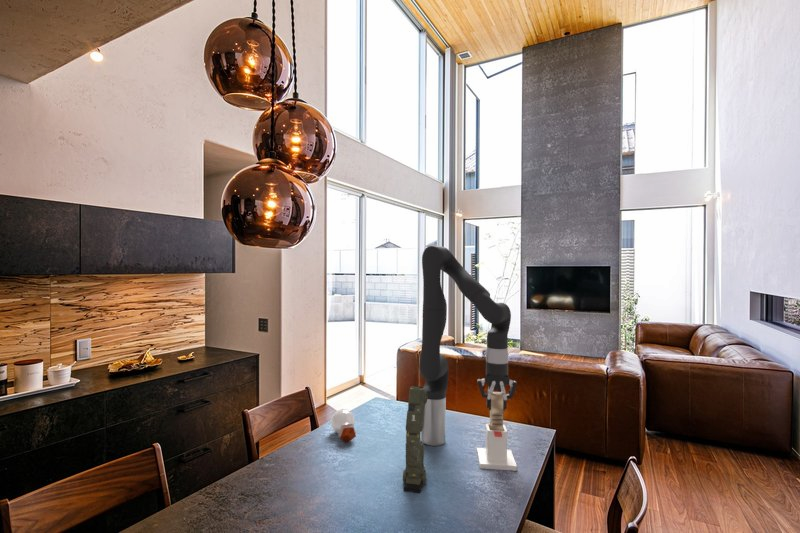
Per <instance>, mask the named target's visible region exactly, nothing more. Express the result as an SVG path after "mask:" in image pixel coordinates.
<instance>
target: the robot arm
mask: <svg viewBox="0 0 800 533" xmlns="http://www.w3.org/2000/svg"><path fill="white" fill-rule="evenodd" d="M421 267H422V278H423V279H422V281H423V288H422V293H423V294H422V297H423V301H422V328H421V329H422V330H421V331H422V332H421V338H422V339H421V349H420V350H421V351H420V357H419V364H418V365H419V368H418V369H419V373H420V375H421V377H422V378H423V379H424V380H425V382H424V385H423V386H422V388H425V389H426V390H427V403H426V404H425V414H424V426H423V430H422V432H421V434H420V442H421V441H422V443H423V444H425V445H428V446H432V447H433V446H434V447H436V446H437V447H438V446H441V445H444V444H445V443H446V417H447V416H446V413H447V412H446V411H447V410H446V409H447V407H446V406H447V404H446V402H447V391H448V386H449V363H448V360H447V358H446V356H445V355H443V354H442V353H441V341H442V338H443V335H444V332H445V328H446V325H447V318H448V317H447V315H448V314H447V313H448V312H447V310H448V309H447V308H448V307H447V306H448V304H447V300H446V297H445V294H444V291H443V289H442V288H443V287H442V284H441V273H442V272H444V273H446V274H447V275H448V276H449V277H450V278H451V279H452V280H453V281H454V283H455V284H456V285H457V286H456V287H457V288H458V290H459V291H460V292H461V293H462V295H463V296H464V297H465V298H466V299H467V300H469V302H471V304H472V305H474V306H475V308H476V309H477V311H478V312H479V314H480V315H481V316H482V317H483V319H485V321H487V322H488V323H489V324H491V326H490V329H489V331H488V332H487V335H486V352H485V376H484V378H481V379H480V378H478V379H477V380H476V381H477V386H478V388H479V391H480V394H481V396H482V398H485V399H486V407H487V409H488V411H490V410H491V394H492V393H493V392H494V391H499V392H501V393H502V395H503V412H505V411H506V410H507V406H508V405H507V404H508V403H507V402H508V400H510V399H511V400H512V399H513V397H514V395H515V391H516V389H517V386H518V383H517V381H516V380H512V379H510V377H509V350H508V349H509V348H508V344H509V343H508V340H509V338H508V334H509V331H510V325H511V319H512V312H511V308H510V306H508V305H507V304H506V303H504V302H495V301H494V300H493V299H492V297H491V293H490V292H489V291H488V289H486V288H485V287H484V286H483V285H482V284H481V283H480V282H478V281H477V280H476V279H475V278H474V277H473V276H472V275H471V274H470V273H469V272H468V271H467V270H466V269H465V268H464V266H463V265H462V264H461V263H460V262H459V261H458V260H457V258H456V257H455V255H454V254H453V253H452V252H451V251H450V250H449V248H447V247H445V246H442V245H428V246H426V248H424V250H423V252H422V255H421ZM441 271H442V272H441ZM485 383H486V384H487V386H488V387H487V391H486V392H487V393H486V392H485V391H484V390H485V389H484V386H485ZM508 385H509V390H508V392H507V391H506V387H507V386H508ZM506 392H507V393H506Z"/></svg>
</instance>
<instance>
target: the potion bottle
mask: <svg viewBox="0 0 800 533" xmlns="http://www.w3.org/2000/svg"><path fill="white" fill-rule="evenodd" d="M355 420H356V419H355V416H354V413H353V412H351V411H350V410H349V409H346V408H345V409H344V408H340V409H338V410H336V411H335V412H334V414H333V415H331V419H330V424H331V428H332V430H333V431H334V433H336V434H337V436H338V437H339V439H340V440H341V441H343V442H345V443H347V444H348V443H350V442H351V441H352V440H354V439H355V438H356V435H357V432H356V429H355Z"/></svg>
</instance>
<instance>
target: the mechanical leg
mask: <svg viewBox="0 0 800 533" xmlns="http://www.w3.org/2000/svg"><path fill="white" fill-rule="evenodd" d="M408 393H409V394H408V403H407V404H408V405H407V412H406V422H405V432H406V433H405V469H404V470H403V472H402V482H403V483H404V485H403V491H404V492H409V493H416V494H420V493H421V491H422V490H423V488H424V486H426V483H427V471H426V470H427V469H425V466H424V465H425V464H424V459H425V445H424V443H422V441H421V432H422V430H423V426H424V414H425V404H426V403H427V390H426V389H425V388H423V386H421V385H413V386H410V387H409V391H408Z"/></svg>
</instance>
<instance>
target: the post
mask: <svg viewBox="0 0 800 533" xmlns="http://www.w3.org/2000/svg"><path fill="white" fill-rule="evenodd" d="M489 424H490V430H497V431H503V425H504V411H503V395H502V393H501V391H493V393H492V394H491V410H489Z"/></svg>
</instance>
